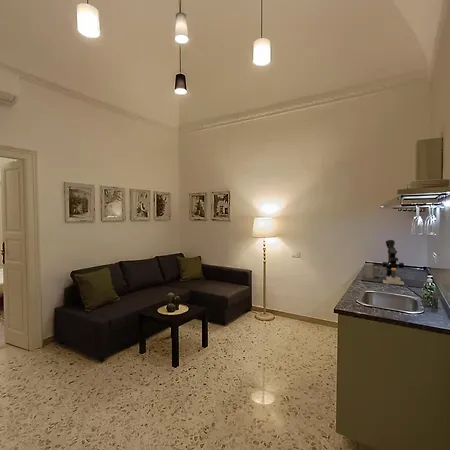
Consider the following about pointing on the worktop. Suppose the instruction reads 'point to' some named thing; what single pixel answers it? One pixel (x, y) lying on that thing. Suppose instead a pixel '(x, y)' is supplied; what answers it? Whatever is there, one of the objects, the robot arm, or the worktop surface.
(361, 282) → the worktop surface
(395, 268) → the lever
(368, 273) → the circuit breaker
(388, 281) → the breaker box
